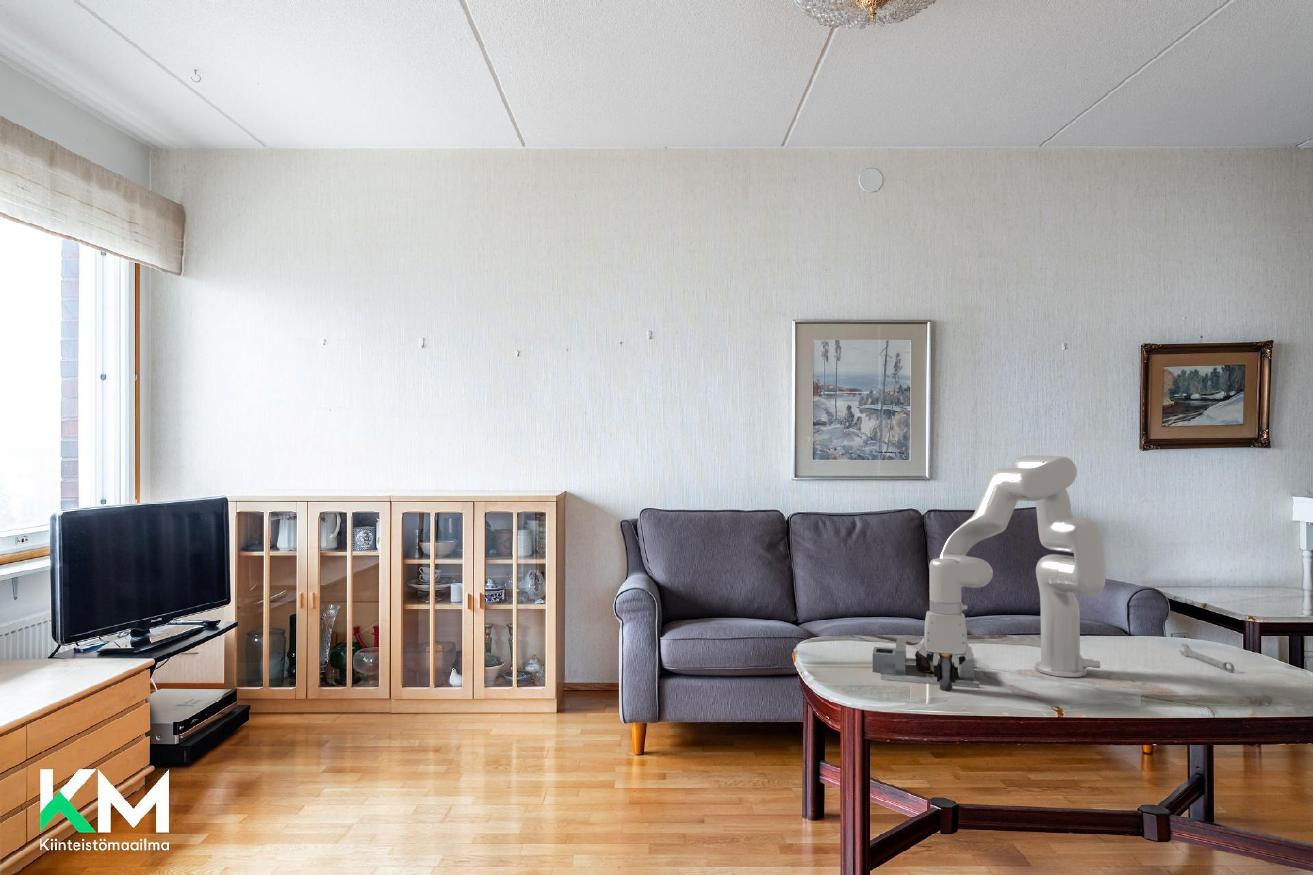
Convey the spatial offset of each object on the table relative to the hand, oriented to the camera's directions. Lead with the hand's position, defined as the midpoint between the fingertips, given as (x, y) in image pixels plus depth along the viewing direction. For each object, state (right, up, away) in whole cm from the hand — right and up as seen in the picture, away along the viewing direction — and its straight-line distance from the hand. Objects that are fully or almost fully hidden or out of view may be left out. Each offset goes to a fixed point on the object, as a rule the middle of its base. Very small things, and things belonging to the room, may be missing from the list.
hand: (946, 680), depth 198 cm
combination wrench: (+82, -3, +24) cm, 86 cm away
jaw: (+10, -2, +12) cm, 15 cm away
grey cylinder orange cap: (0, -2, 0) cm, 2 cm away
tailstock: (-9, -3, +18) cm, 20 cm away
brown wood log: (+2, -3, +14) cm, 15 cm away
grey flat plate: (+1, -3, +14) cm, 15 cm away
